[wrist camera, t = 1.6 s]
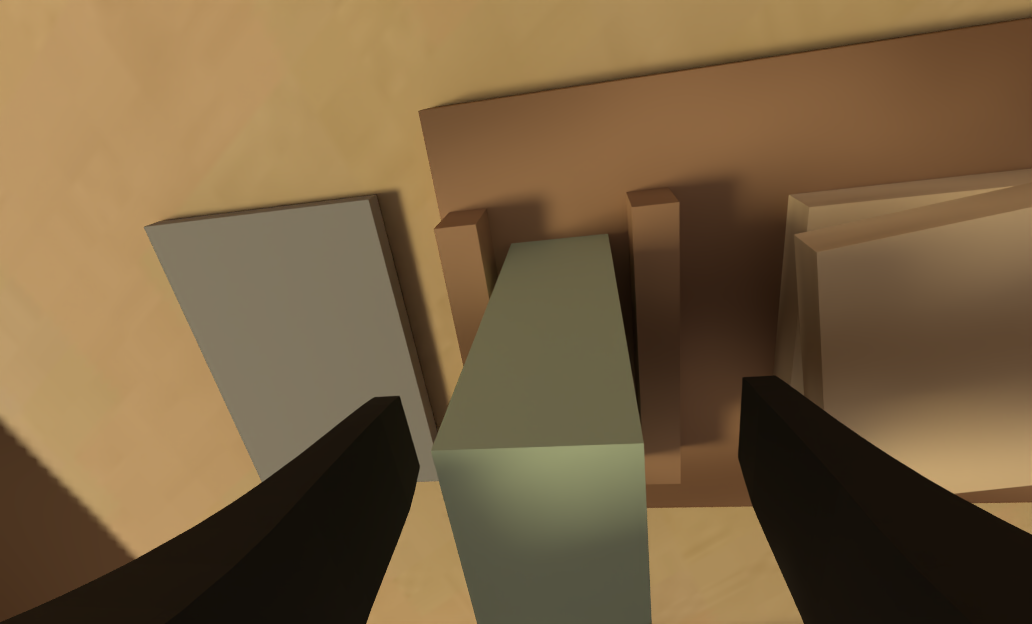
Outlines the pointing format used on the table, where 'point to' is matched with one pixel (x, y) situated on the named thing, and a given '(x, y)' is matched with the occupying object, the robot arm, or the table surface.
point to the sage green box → (549, 447)
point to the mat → (297, 321)
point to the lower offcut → (854, 206)
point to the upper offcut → (927, 335)
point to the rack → (715, 204)
